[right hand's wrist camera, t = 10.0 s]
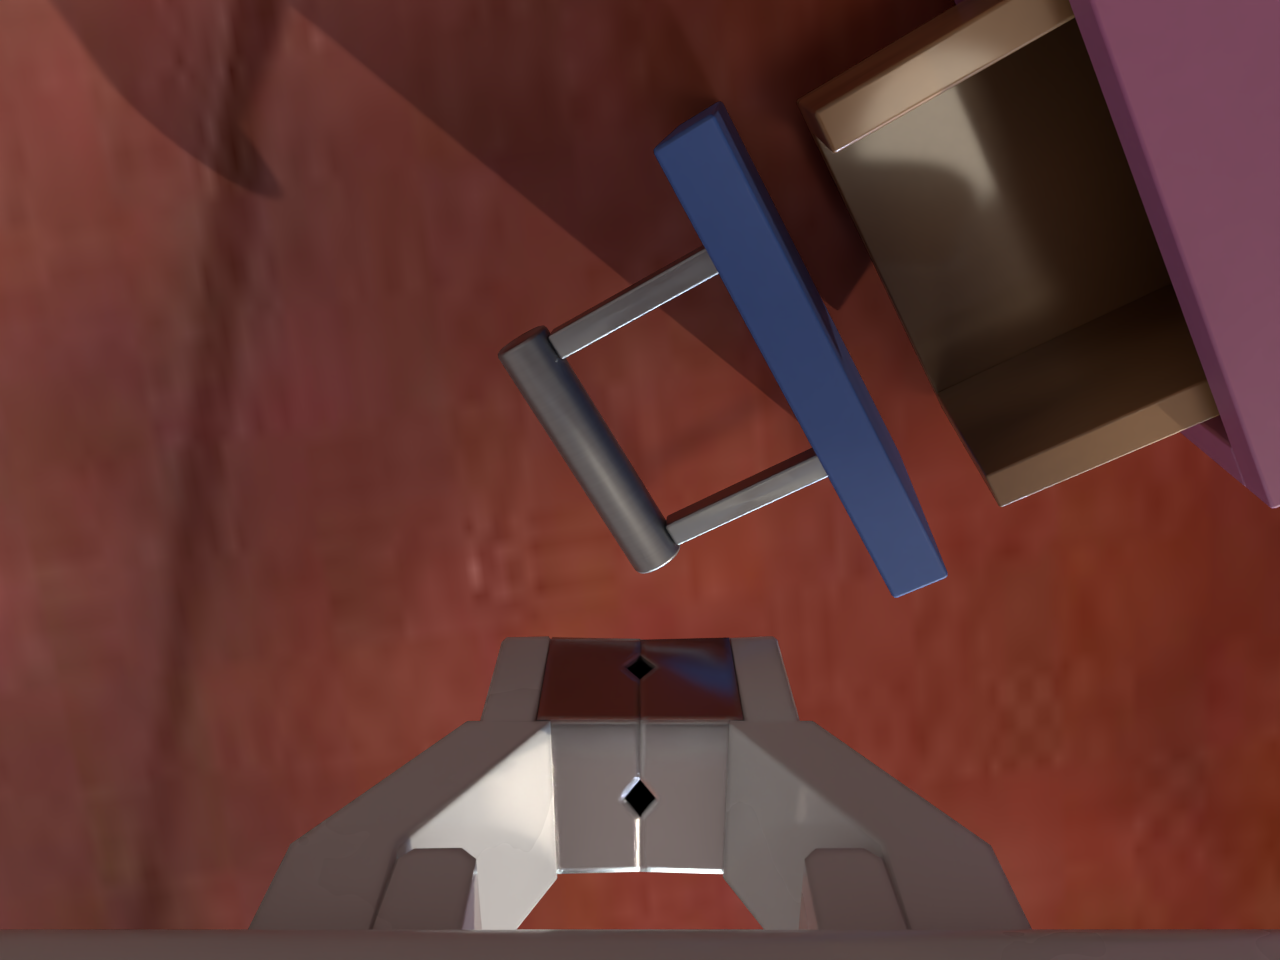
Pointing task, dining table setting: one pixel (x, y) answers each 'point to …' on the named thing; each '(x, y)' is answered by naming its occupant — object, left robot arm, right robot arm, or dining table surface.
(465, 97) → the dining table surface
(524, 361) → the drawer
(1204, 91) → the cabinet
